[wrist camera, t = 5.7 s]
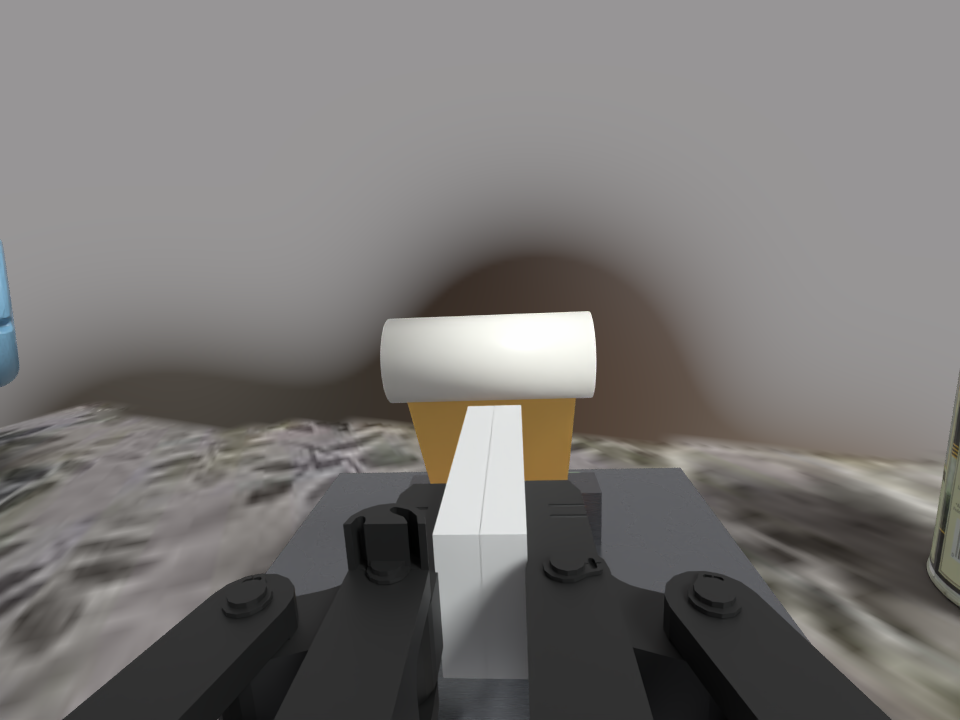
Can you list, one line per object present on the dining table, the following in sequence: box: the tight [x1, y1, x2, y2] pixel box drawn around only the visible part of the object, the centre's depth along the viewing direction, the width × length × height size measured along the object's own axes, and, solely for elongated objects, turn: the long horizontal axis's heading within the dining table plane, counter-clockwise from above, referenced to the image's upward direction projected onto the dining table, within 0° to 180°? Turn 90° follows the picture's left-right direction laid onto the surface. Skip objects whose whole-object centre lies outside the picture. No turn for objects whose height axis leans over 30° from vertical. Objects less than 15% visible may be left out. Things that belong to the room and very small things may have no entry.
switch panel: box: [265, 468, 812, 720], centre depth 29 cm, size 16×24×7 cm, turn 86°
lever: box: [380, 311, 596, 484], centre depth 23 cm, size 3×7×15 cm
